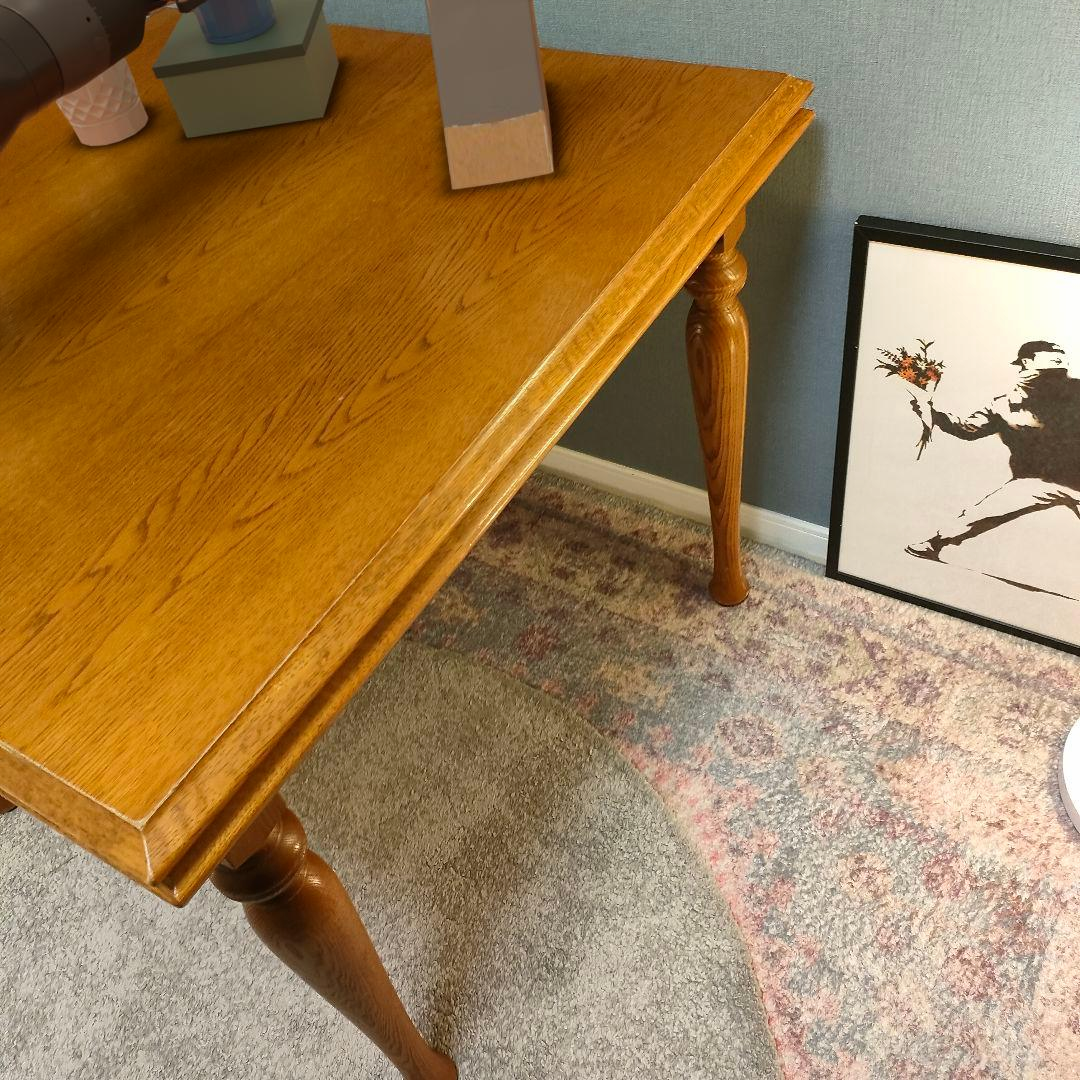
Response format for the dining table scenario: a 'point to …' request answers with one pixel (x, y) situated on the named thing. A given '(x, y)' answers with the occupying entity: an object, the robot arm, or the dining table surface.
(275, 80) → the storage box
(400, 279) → the dining table surface
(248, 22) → the blue cup
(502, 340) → the dining table surface
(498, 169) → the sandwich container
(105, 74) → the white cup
